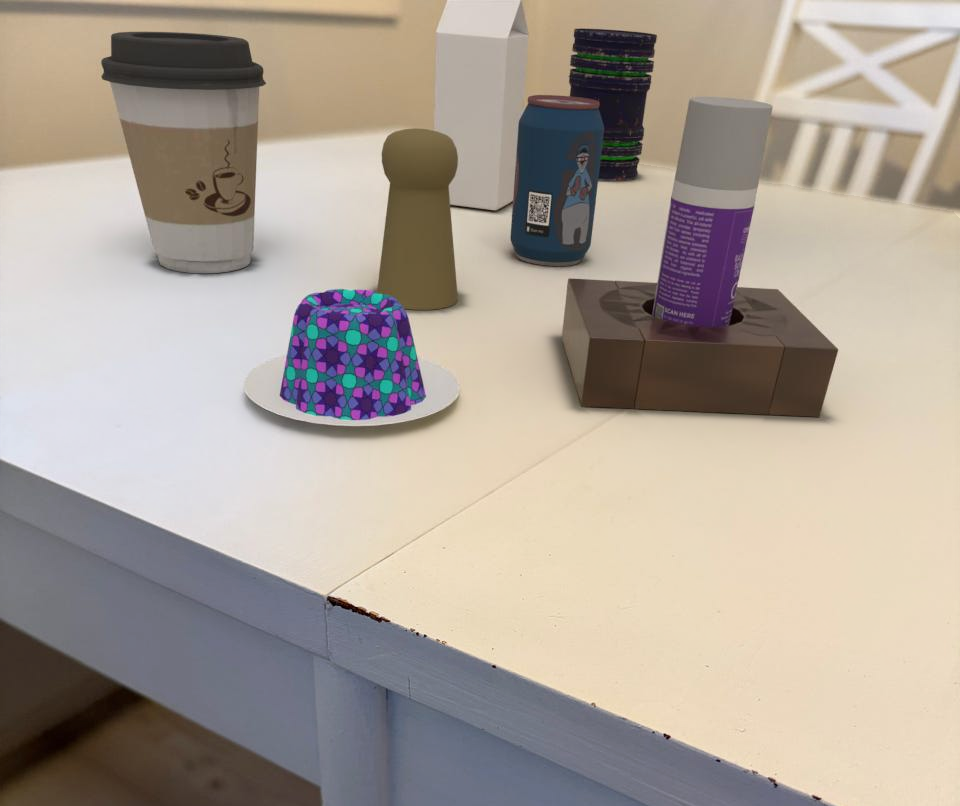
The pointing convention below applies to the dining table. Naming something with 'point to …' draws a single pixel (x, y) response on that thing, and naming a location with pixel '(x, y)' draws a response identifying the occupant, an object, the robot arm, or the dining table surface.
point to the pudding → (351, 365)
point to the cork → (419, 220)
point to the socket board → (694, 353)
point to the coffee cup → (190, 142)
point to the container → (711, 210)
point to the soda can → (556, 179)
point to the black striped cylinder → (615, 92)
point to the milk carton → (481, 96)
